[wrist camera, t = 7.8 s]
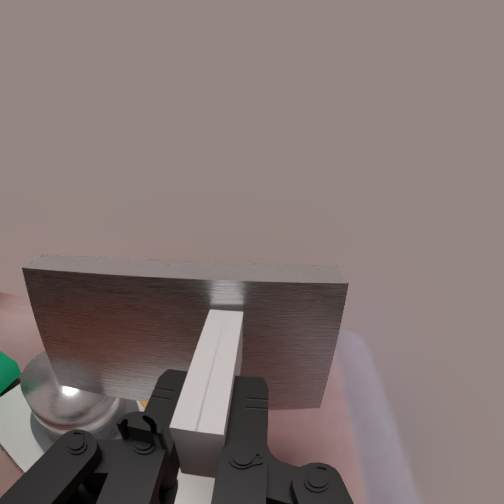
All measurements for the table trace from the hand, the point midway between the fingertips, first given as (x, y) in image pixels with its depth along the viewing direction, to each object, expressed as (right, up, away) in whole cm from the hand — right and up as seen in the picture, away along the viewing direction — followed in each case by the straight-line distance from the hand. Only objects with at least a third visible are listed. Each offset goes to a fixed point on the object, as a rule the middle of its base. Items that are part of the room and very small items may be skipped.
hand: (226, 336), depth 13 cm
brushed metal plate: (-5, -8, +4) cm, 10 cm away
